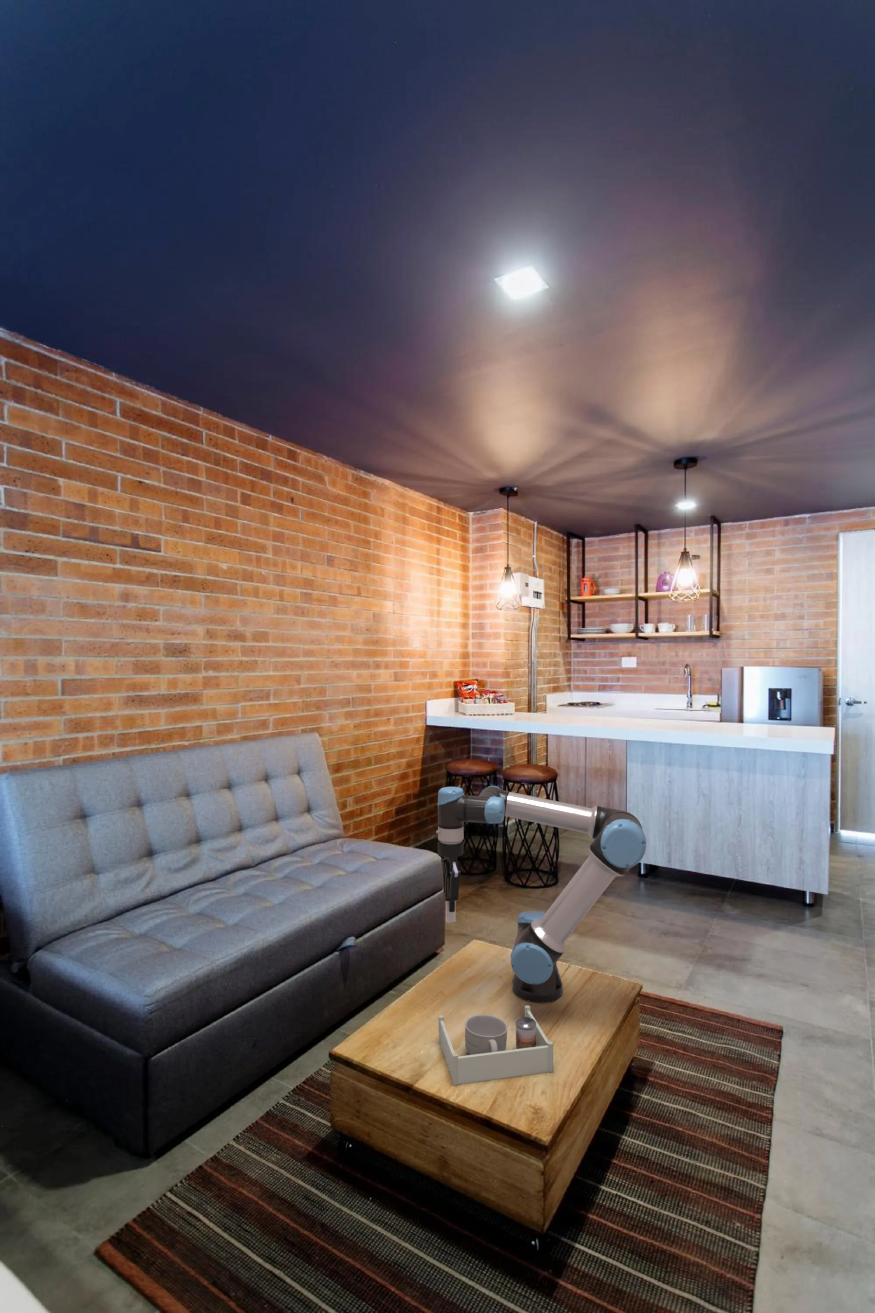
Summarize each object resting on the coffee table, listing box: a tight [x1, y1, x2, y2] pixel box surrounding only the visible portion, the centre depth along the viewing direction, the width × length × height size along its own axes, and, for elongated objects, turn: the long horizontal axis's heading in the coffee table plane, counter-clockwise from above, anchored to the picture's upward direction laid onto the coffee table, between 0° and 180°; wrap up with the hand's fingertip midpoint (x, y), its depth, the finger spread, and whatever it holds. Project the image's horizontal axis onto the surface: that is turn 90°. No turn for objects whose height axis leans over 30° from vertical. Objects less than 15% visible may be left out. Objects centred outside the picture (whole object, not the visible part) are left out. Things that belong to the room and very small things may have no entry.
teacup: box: [464, 1013, 508, 1055], centre depth 161 cm, size 14×11×8 cm
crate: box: [438, 1004, 554, 1086], centre depth 162 cm, size 25×18×7 cm
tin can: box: [515, 1016, 536, 1049], centre depth 163 cm, size 5×5×8 cm
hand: (450, 921), depth 188 cm, fingers closed
